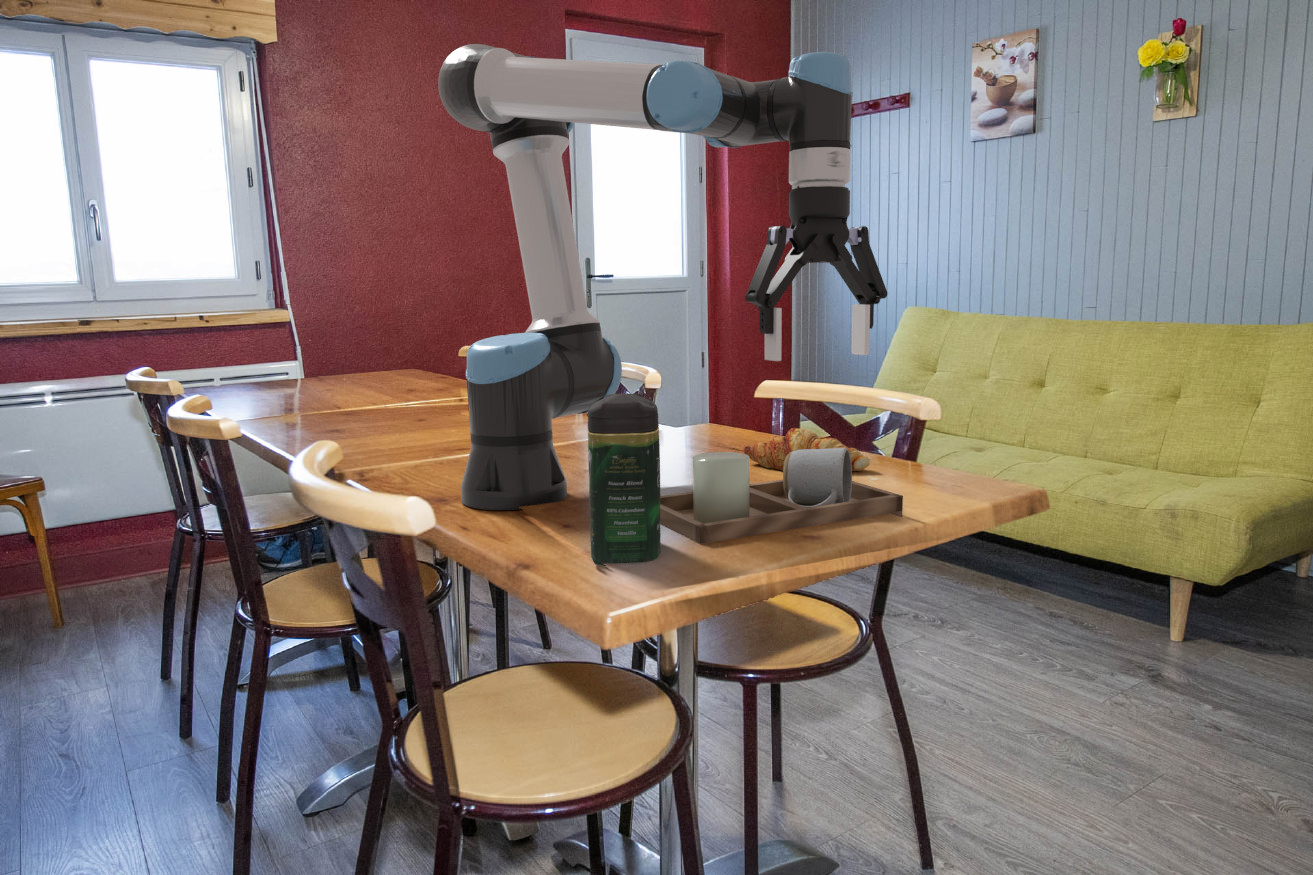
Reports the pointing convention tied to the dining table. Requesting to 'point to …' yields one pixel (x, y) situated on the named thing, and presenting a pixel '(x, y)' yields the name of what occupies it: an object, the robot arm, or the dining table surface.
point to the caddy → (774, 512)
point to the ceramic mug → (818, 476)
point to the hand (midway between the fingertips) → (817, 357)
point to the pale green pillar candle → (721, 486)
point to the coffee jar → (624, 479)
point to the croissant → (794, 440)
